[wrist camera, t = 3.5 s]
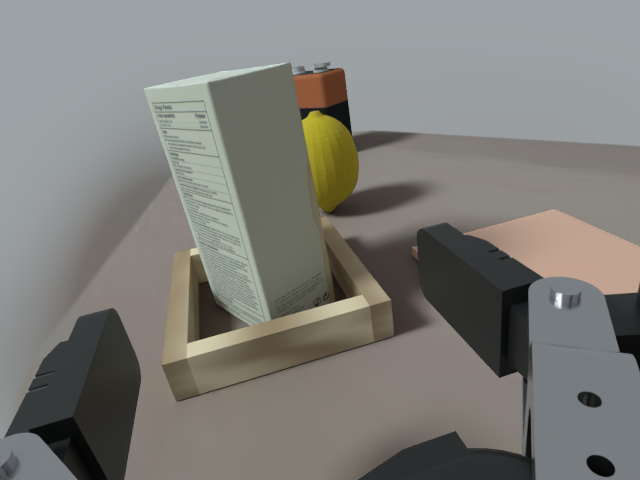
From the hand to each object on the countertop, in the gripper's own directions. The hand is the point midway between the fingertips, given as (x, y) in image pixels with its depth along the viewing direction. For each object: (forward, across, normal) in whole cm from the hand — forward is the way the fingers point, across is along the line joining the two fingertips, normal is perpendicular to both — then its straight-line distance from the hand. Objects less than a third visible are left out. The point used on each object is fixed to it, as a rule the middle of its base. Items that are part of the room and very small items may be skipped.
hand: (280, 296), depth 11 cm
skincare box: (+11, 0, +7) cm, 13 cm away
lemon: (+22, -7, +7) cm, 24 cm away
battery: (+41, -11, +7) cm, 43 cm away
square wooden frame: (+11, 0, +7) cm, 13 cm away
